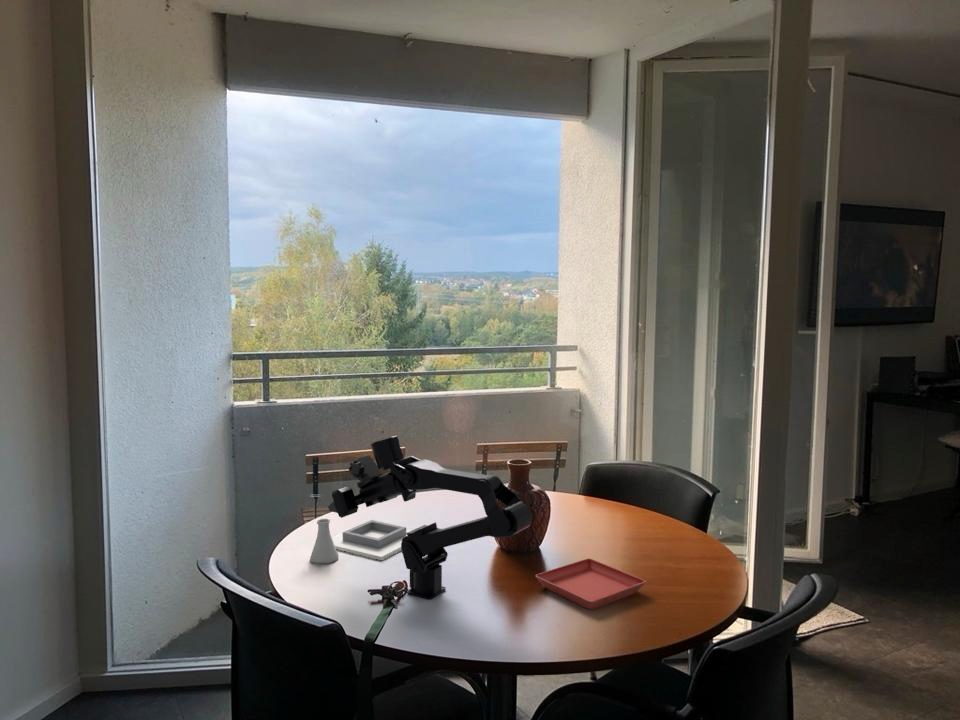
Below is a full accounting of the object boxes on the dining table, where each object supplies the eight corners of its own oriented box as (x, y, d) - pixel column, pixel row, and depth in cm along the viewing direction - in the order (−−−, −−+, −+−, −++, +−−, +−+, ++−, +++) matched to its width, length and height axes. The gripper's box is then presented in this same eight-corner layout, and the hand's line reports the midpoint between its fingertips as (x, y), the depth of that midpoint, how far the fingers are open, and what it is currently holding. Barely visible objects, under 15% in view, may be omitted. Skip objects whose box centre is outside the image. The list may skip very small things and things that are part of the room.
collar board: (426, 537, 197) (426, 525, 197) (381, 560, 180) (381, 548, 180) (369, 524, 207) (369, 513, 207) (320, 545, 190) (320, 534, 190)
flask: (331, 565, 177) (331, 526, 176) (304, 563, 178) (303, 524, 177) (343, 555, 184) (342, 516, 183) (316, 553, 185) (316, 515, 184)
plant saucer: (533, 588, 165) (533, 574, 165) (588, 569, 176) (589, 556, 176) (590, 617, 151) (591, 601, 151) (647, 595, 162) (647, 581, 162)
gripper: (402, 445, 174) (358, 463, 183) (348, 460, 159) (303, 480, 167) (417, 489, 173) (372, 506, 181) (364, 509, 157) (318, 526, 166)
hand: (342, 503), depth 174 cm, fingers open, 9 cm apart
